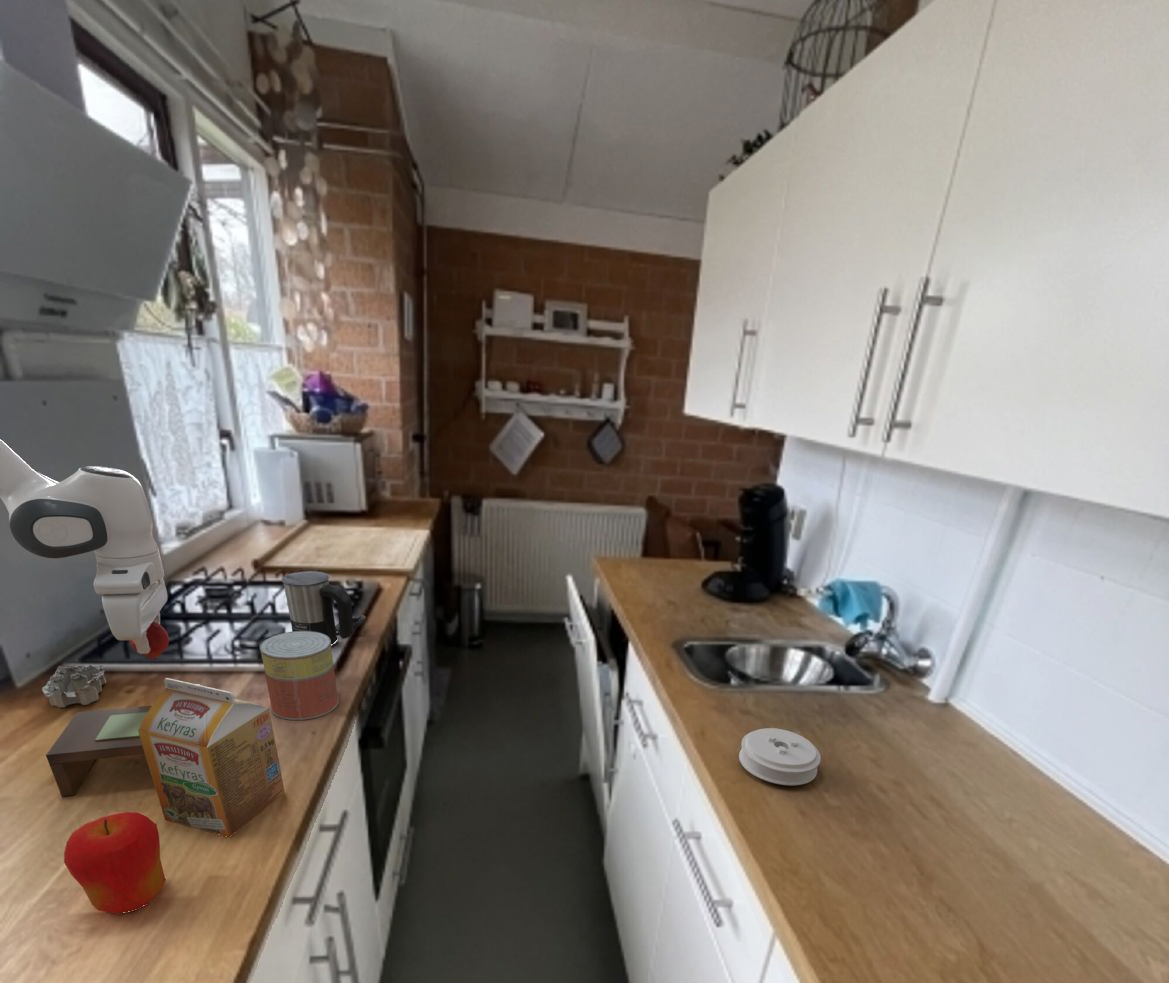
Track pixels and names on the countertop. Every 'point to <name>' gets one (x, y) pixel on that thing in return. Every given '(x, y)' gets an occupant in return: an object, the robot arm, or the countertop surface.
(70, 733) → the shelf
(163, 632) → the onion
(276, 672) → the canned food
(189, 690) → the milk carton
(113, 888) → the apple
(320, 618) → the milk frother
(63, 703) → the egg carton
